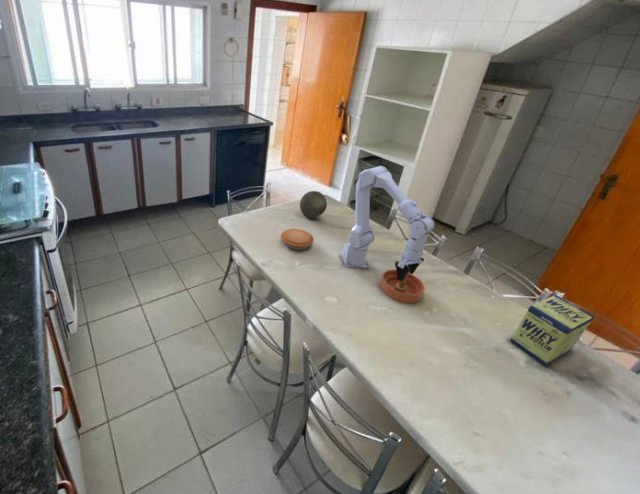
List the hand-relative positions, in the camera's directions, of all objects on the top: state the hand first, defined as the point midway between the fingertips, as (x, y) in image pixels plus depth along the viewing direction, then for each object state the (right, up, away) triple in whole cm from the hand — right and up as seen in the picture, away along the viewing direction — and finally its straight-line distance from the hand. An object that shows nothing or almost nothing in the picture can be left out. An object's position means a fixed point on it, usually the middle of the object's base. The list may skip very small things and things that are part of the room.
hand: (404, 276), depth 126 cm
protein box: (+35, -19, -18) cm, 44 cm away
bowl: (0, -6, +3) cm, 7 cm away
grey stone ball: (-24, +20, +55) cm, 63 cm away
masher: (0, -6, +3) cm, 7 cm away
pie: (-37, +9, +30) cm, 48 cm away
